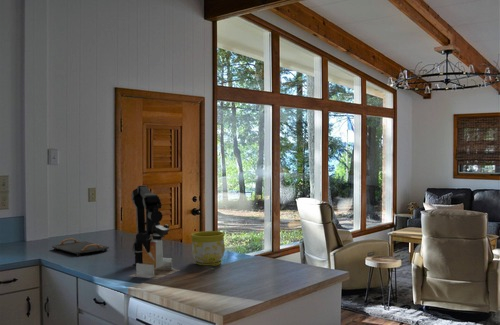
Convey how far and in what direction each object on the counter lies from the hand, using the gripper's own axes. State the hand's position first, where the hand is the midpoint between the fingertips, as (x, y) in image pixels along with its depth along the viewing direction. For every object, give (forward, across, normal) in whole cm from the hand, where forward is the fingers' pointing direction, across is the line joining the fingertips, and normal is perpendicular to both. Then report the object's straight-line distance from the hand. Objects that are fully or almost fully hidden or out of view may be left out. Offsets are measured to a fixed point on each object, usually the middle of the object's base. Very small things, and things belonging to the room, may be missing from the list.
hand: (152, 251), depth 262 cm
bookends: (+11, 0, -1) cm, 11 cm away
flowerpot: (+12, +30, -14) cm, 35 cm away
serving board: (+12, +34, +84) cm, 91 cm away
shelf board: (+12, 0, -1) cm, 12 cm away
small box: (+8, 0, 0) cm, 8 cm away
